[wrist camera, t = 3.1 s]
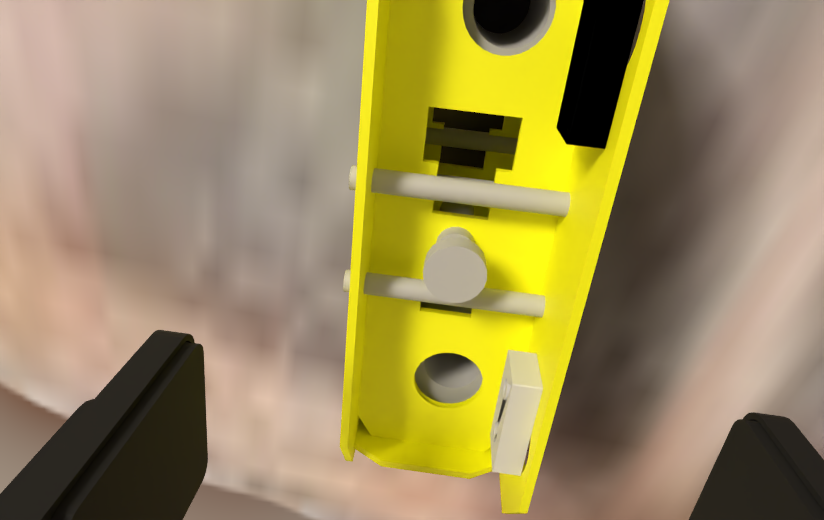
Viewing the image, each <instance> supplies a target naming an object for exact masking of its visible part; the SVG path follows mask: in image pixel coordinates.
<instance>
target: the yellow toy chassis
mask: <svg viewBox="0 0 824 520" xmlns="http://www.w3.org/2000/svg"><path fill="white" fill-rule="evenodd" d="M643 1H644V0H530V7H529V11H528V13H527V15H526V17H525V19H524V20H523V22H522V23H521V24H520V25H519V26H518V27H516V28H515V29H513V30H511V31H509V32H506V33H492V32H489V31H487V30H485V29H484V28H482V27H481V26H480V25H479V24H478V22H477V21H476V19H475V17H474V15H473V5H474V0H367V12H366V28H365V44H364V61H363V77H362V93H361V110H360V126H359V142H358V158H357V166H354V165H352V167H351V171H350V177H349V189H350V190H356V191H355V207H354V224H353V240H352V256H351V270H346V272H345V277H344V284H343V291H345V292H349V305H348V322H347V338H346V354H345V370H344V387H343V403H342V419H341V436H340V448H341V451H342V453H343V455H344V458H345V460H346V461H353V457H354V453H355V449H356V450H358V451H359V452H361V453H362V454H364V455H365V456H367V457H368V458H370V459H371V460H373V461H374V462H376V463H377V464H379V465H380V466H383V467H390V468H397V469H404V470H411V471H418V472H425V473H432V474H439V475H446V476H453V477H460V478H468V479H471V478H474V477H476V476H479V475H482V474H485V473H488V472H491V471H492V472H496V473H499V476H500V491H501V506H502V513H505V514H527V512H528V508H529V505H530V501H531V498H532V494H533V490H534V487H535V483H536V480H537V476H538V472H539V469H540V465H541V462H542V458H543V454H544V451H545V447H546V444H547V440H548V436H549V433H550V429H551V426H552V422H553V418H554V415H555V411H556V407H557V404H558V400H559V397H560V393H561V389H562V386H563V382H564V379H565V375H566V371H567V368H568V364H569V361H570V357H571V353H572V350H573V346H574V343H575V339H576V335H577V332H578V328H579V325H580V321H581V317H582V314H583V310H584V307H585V303H586V299H587V296H588V292H589V289H590V285H591V281H592V278H593V274H594V270H595V267H596V263H597V260H598V256H599V252H600V249H601V245H602V242H603V238H604V234H605V231H606V227H607V224H608V220H609V216H610V213H611V209H612V206H613V202H614V198H615V195H616V191H617V188H618V184H619V180H620V177H621V173H622V170H623V166H624V162H625V159H626V155H627V151H628V148H629V144H630V141H631V137H632V133H633V130H634V126H635V123H636V119H637V115H638V112H639V108H640V105H641V101H642V97H643V94H644V90H645V87H646V83H647V79H648V76H649V72H650V69H651V65H652V61H653V58H654V54H655V51H656V47H657V43H658V40H659V36H660V33H661V29H662V25H663V22H664V18H665V14H666V11H667V7H668V4H669V0H646V3H645V11H644V15H643V20H642V25H641V29H640V32H639V36H638V39H637V42H636V46H635V48H634V51H633V53H632V56H631V58H630V61H629V63H628V59H629V55H630V51H631V47H632V43H633V39H634V36H635V32H636V28H637V24H638V20H639V16H640V12H641V9H642V5H643ZM627 63H628V64H627ZM434 107H437V108H445V109H453V110H461V111H470V112H478V113H486V114H494V115H502V116H504V122H503V127H502V130H500V129H492V128H490V130H489V133H487V132H479V131H470V130H462V129H454V128H446V127H444V124H445V123H443V122H435V121H433V112H434ZM442 146H448V147H456V148H464V149H472V150H480V151H486V154H485V160H484V166H483V168H479V167H471V166H463V165H455V164H447V163H440V155H441V147H442ZM530 437H531V440H530ZM529 441H530V448H529V455H528V460H527V464H526V466H525V457H526V453H527V449H528V445H529Z"/></svg>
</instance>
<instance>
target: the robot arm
mask: <svg viewBox="0 0 824 520" xmlns="http://www.w3.org/2000/svg"><path fill="white" fill-rule="evenodd" d="M207 463H208V453H207V427H206V401H205V376H204V351H203V347H202V345H201V344H196V343H194V339H193V336H192V335H190V334H185V333H178V332H171V331H164V330H157V331H155V332H154V333H153V334H152V335H151V336H150V337H149V338H148V339H147V340H146V342H145V343H144V344H143V345H142V346H141V347H140V348H139V349H138V351H137V352H136V353H135V354H134V355H133V356H132V357H131V358H130V360H129V361H128V362H127V363H126V364H125V365H124V366H123V367H122V369H121V370H120V371H119V372H118V373H117V374H116V375H115V376H114V378H113V379H112V380H111V381H110V382H109V383H108V384H107V386H106V387H105V388H104V389H103V390H102V391H101V392H100V393H99V395H98V396H97V397H96V398H95V399H92V400H89V401H86V402H85V403H84V404H82V405H81V406H80V407H79V408H78V409H77V410H76V411H75V412H74V413H73V414H72V416H71V417H70V418H69V419H68V420H67V421H66V422H65V423H64V424H63V426H62V427H61V428H60V429H59V430H58V431H57V432H56V433H55V434H54V435H53V436H52V438H51V439H50V440H49V441H48V442H47V443H46V444H45V445H44V446H43V447H42V449H41V450H40V451H39V452H38V453H37V454H36V455H35V456H34V458H33V459H32V460H31V461H30V462H29V463H28V464H27V465H26V466H25V468H23V470H22V471H21V472H20V473H19V474H18V475H17V476H16V477H15V478H14V479H13V481H12V482H11V483H10V484H9V485H8V486H7V487H6V488H5V489H4V490H3V492H2V493H1V494H0V520H183V518H184V516H185V514H186V512H187V510H188V508H189V506H190V504H191V502H192V500H193V498H194V496H195V494H196V492H197V491H198V489H199V487H200V485H201V483H202V481H203V479H204V476H205V473H206V468H207ZM689 520H824V460H823V459H822V457H821V456H820V455H819V454H818V452H817V451H816V450H815V449H814V447H813V446H812V445H811V444H810V442H809V441H808V440H807V439H806V438H805V436H804V435H803V434H802V433H801V431H800V430H799V429H798V428H797V426H796V425H795V424H794V423H793V422H792V421H791V420H790V419H789V418H786V417H782V416H775V415H768V414H760V413H748V414H747V415H746V416H745V417H744V418H743V420H742V419H740V420H737V421H736V422H735V423H734V424H733V426H732V428H731V430H730V432H729V434H728V436H727V439H726V441H725V443H724V445H723V447H722V449H721V451H720V454H719V456H718V458H717V460H716V462H715V464H714V467H713V469H712V471H711V473H710V475H709V477H708V479H707V482H706V484H705V486H704V488H703V490H702V492H701V494H700V497H699V499H698V501H697V503H696V505H695V507H694V510H693V512H692V514H691V516H690V518H689Z"/></svg>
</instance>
